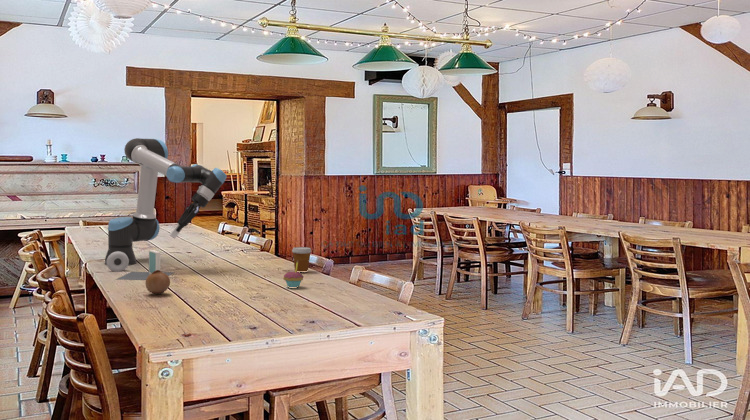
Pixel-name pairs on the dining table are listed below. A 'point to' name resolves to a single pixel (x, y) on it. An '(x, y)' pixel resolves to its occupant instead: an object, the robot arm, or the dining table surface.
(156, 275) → the onion
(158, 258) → the board
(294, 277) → the cupcake
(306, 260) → the disposable coffee cup
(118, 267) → the donut
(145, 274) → the mat
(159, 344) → the dining table surface
